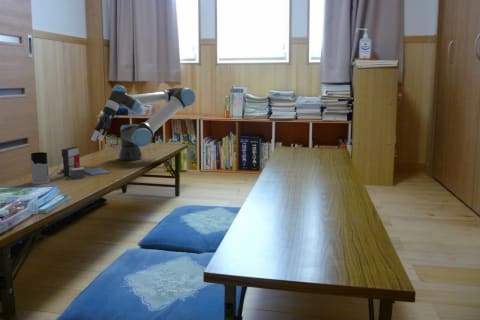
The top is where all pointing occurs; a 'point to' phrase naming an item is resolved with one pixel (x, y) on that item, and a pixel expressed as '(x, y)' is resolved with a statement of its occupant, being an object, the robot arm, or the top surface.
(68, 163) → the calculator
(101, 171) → the rubber mat
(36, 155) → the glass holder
